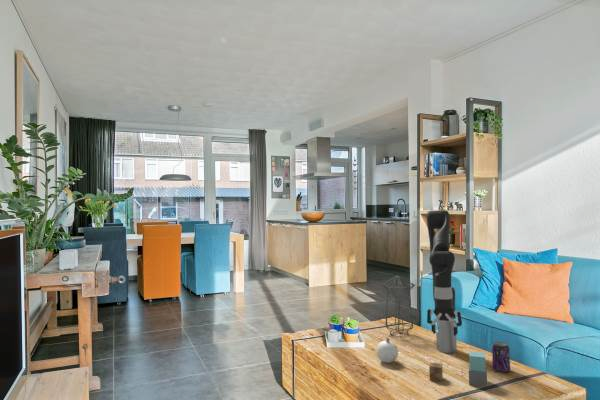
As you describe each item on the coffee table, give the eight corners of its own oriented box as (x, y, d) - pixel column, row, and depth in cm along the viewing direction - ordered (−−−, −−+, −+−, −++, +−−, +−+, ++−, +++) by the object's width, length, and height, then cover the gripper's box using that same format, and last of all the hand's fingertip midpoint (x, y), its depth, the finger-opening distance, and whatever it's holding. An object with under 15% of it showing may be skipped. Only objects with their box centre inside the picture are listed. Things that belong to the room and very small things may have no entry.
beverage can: (500, 374, 185) (499, 347, 185) (489, 368, 192) (488, 342, 192) (513, 372, 187) (512, 345, 187) (502, 366, 194) (501, 340, 194)
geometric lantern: (396, 329, 259) (395, 273, 260) (418, 334, 246) (416, 275, 247) (380, 334, 248) (378, 276, 250) (402, 340, 236) (400, 278, 237)
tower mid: (469, 370, 175) (469, 355, 176) (470, 365, 181) (469, 351, 181) (485, 372, 173) (484, 357, 173) (485, 367, 179) (484, 352, 179)
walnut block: (429, 380, 181) (429, 366, 181) (430, 376, 185) (430, 362, 186) (441, 381, 179) (441, 367, 179) (442, 377, 183) (442, 363, 184)
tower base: (469, 385, 175) (468, 370, 175) (469, 378, 181) (469, 364, 182) (487, 387, 172) (486, 372, 172) (487, 380, 179) (486, 366, 179)
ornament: (398, 366, 198) (397, 340, 198) (376, 365, 200) (375, 340, 200) (398, 358, 208) (397, 334, 208) (377, 357, 210) (376, 333, 210)
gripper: (425, 297, 182) (426, 335, 181) (460, 299, 176) (461, 338, 175) (427, 294, 189) (429, 330, 188) (461, 296, 183) (462, 333, 182)
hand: (444, 334), depth 182 cm, fingers open, 8 cm apart
